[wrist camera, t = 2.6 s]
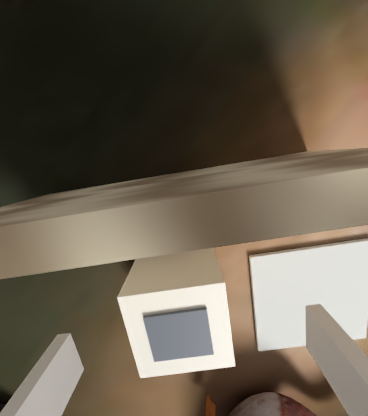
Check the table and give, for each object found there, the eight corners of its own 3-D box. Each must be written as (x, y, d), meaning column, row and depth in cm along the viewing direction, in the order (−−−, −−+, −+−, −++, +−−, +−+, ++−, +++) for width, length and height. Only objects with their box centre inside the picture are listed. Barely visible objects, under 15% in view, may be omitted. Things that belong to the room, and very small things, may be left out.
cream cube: (154, 307, 18) (139, 381, 12) (140, 248, 17) (115, 300, 11) (218, 298, 18) (236, 369, 12) (210, 238, 16) (225, 284, 10)
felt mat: (257, 347, 19) (258, 351, 19) (248, 255, 17) (250, 257, 16) (362, 334, 19) (366, 338, 18) (369, 237, 16) (373, 239, 16)
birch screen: (56, 213, 16) (-147, 301, 6) (49, 194, 15) (-179, 254, 6) (307, 172, 15) (533, 200, 5) (307, 151, 15) (550, 138, 5)
